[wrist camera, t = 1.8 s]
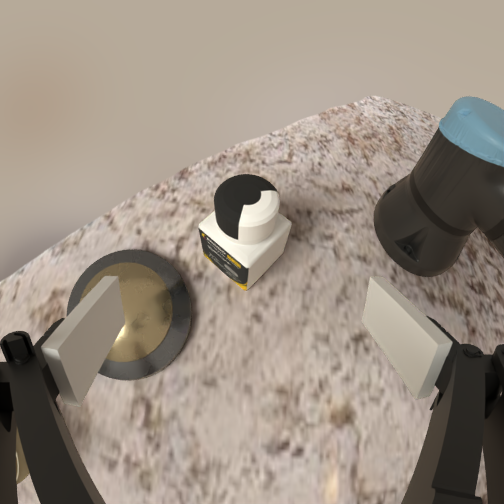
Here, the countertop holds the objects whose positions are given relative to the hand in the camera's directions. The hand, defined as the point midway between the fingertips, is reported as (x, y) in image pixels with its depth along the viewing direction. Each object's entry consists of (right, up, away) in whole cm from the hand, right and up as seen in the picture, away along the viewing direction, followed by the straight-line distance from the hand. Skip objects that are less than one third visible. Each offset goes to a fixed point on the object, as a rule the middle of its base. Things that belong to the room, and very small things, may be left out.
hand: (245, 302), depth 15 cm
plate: (-15, -5, +18) cm, 24 cm away
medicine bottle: (-1, +2, +23) cm, 23 cm away
